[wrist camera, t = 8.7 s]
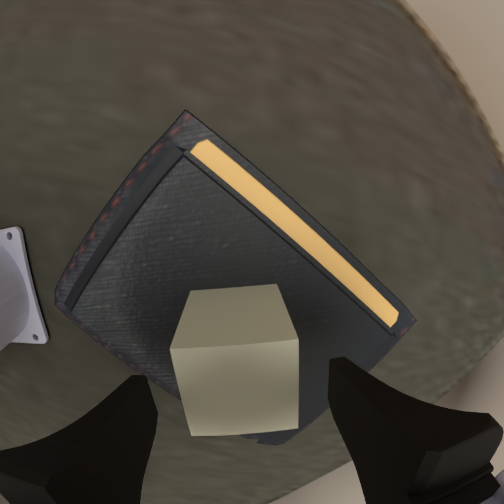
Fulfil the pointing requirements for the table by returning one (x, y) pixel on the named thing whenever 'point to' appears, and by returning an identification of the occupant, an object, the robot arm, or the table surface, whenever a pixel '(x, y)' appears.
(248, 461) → the table surface
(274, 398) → the block
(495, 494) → the robot arm
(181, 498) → the table surface
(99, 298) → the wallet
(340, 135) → the table surface
